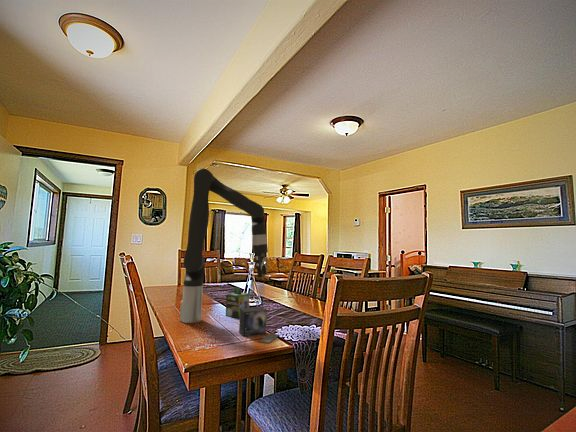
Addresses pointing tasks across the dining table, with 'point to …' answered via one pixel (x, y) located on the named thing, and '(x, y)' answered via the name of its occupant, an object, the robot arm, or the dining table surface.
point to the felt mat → (269, 338)
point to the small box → (252, 321)
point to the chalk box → (236, 303)
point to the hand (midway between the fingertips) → (262, 276)
